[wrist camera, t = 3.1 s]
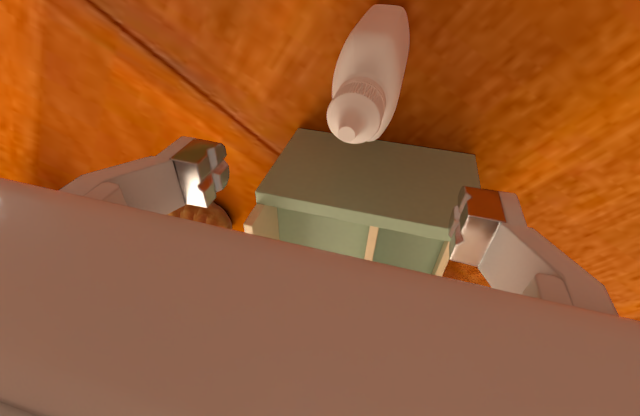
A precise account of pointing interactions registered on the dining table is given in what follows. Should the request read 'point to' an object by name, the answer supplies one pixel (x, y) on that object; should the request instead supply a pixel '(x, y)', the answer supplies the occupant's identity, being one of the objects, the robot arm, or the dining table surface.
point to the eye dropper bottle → (369, 75)
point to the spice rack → (364, 199)
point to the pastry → (204, 215)
